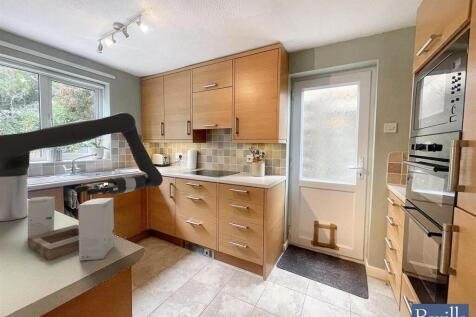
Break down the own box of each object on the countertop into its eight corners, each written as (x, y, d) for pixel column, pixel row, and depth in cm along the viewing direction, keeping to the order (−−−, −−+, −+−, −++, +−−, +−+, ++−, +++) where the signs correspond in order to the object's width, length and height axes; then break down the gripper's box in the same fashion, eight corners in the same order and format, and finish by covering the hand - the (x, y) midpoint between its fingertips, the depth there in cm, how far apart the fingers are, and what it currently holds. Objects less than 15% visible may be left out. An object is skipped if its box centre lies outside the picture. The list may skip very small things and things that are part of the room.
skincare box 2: (103, 259, 54) (103, 204, 54) (77, 261, 53) (76, 204, 52) (114, 245, 62) (115, 196, 62) (92, 246, 61) (92, 197, 61)
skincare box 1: (27, 238, 66) (26, 200, 65) (31, 233, 69) (30, 197, 69) (52, 234, 69) (52, 198, 69) (55, 229, 73) (54, 195, 72)
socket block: (28, 247, 60) (27, 237, 60) (76, 233, 70) (76, 224, 70) (49, 260, 53) (49, 249, 53) (99, 242, 64) (99, 233, 64)
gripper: (112, 175, 96) (71, 179, 82) (131, 177, 89) (90, 183, 75) (112, 191, 96) (71, 198, 82) (132, 194, 90) (90, 203, 75)
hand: (80, 191), depth 79 cm, fingers open, 8 cm apart
